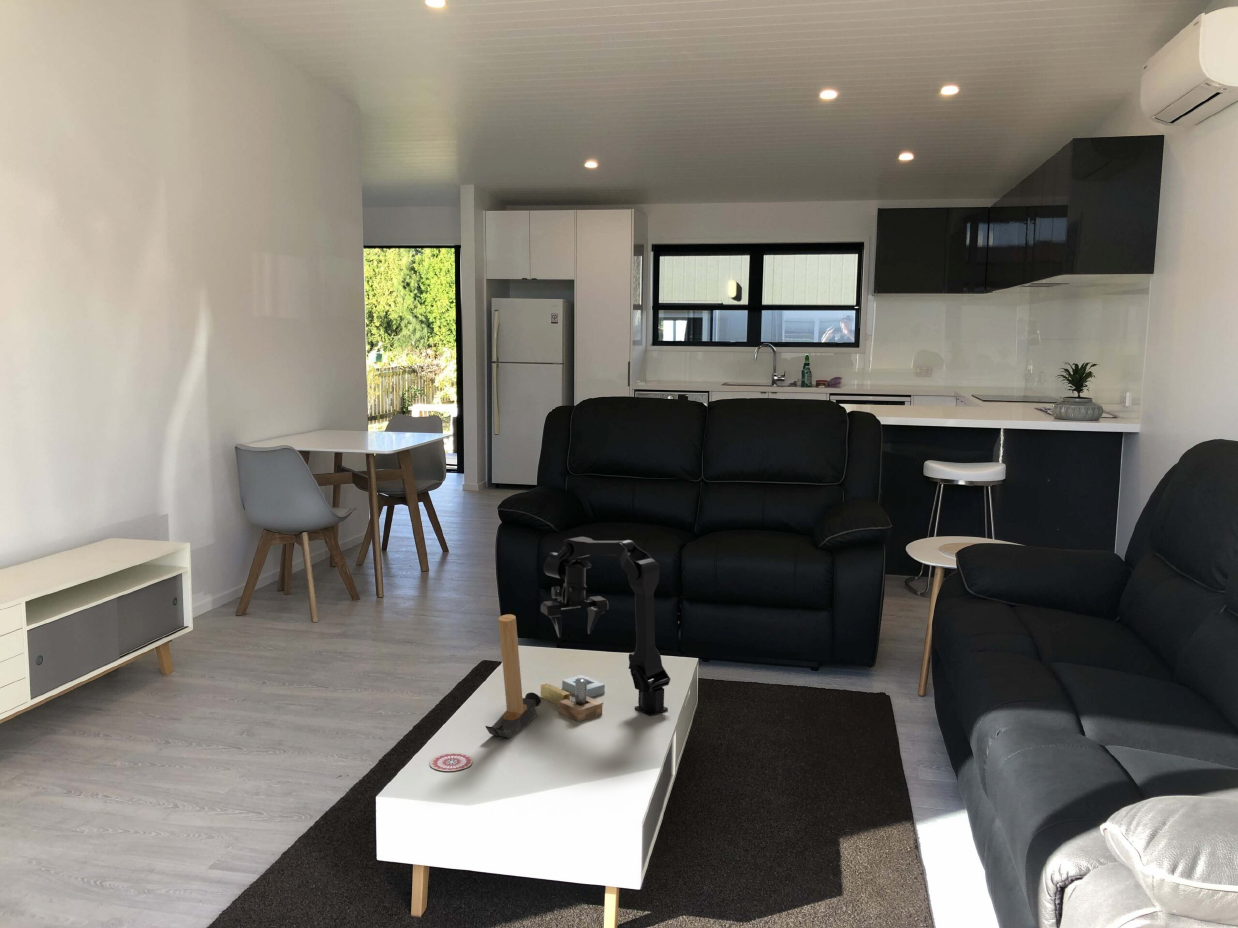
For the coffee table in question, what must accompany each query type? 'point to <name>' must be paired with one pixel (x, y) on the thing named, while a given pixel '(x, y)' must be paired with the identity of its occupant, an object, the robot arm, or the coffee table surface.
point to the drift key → (553, 693)
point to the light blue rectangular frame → (592, 686)
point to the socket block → (580, 709)
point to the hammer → (513, 685)
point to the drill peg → (581, 691)
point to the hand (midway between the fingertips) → (574, 635)
